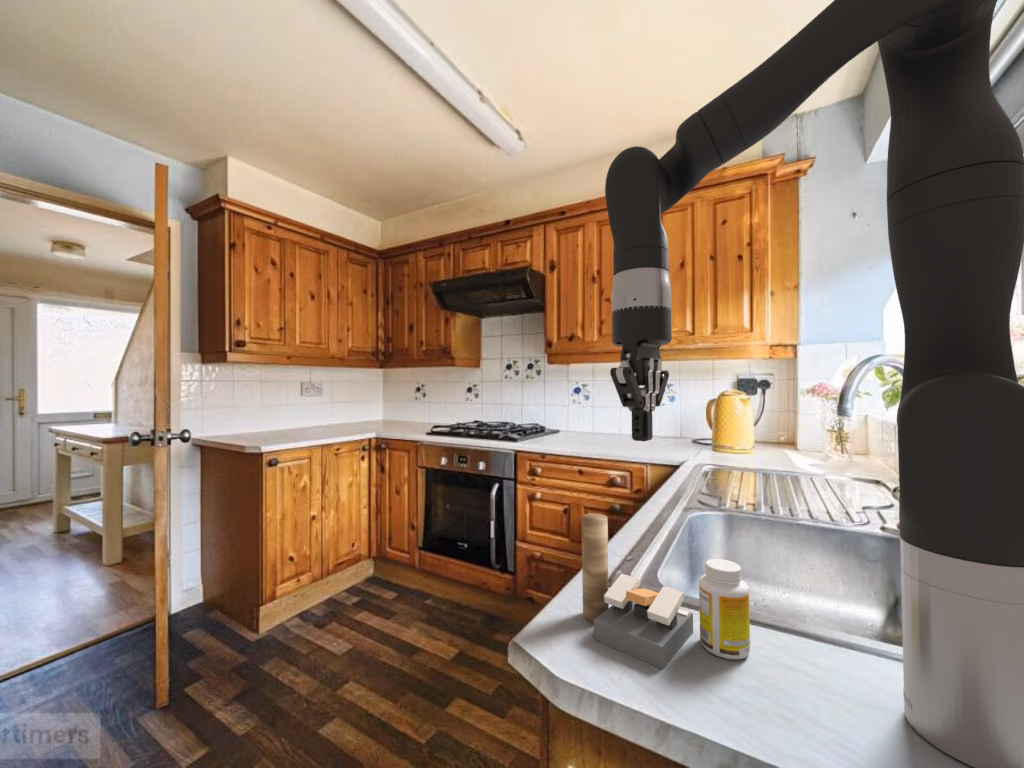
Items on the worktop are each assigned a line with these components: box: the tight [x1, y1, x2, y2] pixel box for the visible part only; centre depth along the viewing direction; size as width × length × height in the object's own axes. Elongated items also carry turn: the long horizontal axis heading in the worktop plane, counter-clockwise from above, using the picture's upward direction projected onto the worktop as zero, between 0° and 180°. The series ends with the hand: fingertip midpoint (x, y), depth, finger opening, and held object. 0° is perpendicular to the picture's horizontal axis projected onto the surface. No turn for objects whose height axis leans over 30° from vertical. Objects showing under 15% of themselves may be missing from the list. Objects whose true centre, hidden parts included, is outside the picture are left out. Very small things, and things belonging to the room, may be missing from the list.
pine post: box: [581, 513, 610, 624], centre depth 61 cm, size 4×4×14 cm
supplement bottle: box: [698, 558, 751, 661], centre depth 53 cm, size 6×6×10 cm
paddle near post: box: [604, 573, 641, 609], centre depth 58 cm, size 3×5×1 cm, turn 138°
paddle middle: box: [626, 587, 659, 607], centre depth 56 cm, size 3×5×2 cm, turn 138°
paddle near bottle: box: [647, 585, 685, 626], centre depth 54 cm, size 3×5×2 cm, turn 138°
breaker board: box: [593, 601, 694, 670], centre depth 56 cm, size 9×10×4 cm
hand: (642, 440), depth 56 cm, fingers closed
